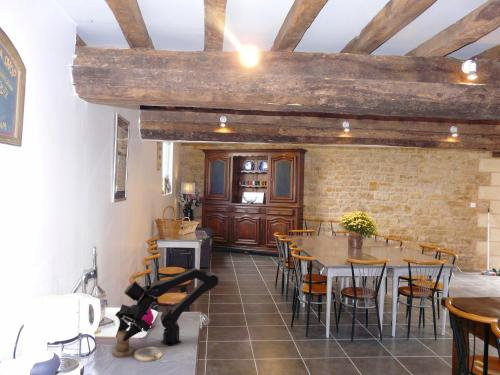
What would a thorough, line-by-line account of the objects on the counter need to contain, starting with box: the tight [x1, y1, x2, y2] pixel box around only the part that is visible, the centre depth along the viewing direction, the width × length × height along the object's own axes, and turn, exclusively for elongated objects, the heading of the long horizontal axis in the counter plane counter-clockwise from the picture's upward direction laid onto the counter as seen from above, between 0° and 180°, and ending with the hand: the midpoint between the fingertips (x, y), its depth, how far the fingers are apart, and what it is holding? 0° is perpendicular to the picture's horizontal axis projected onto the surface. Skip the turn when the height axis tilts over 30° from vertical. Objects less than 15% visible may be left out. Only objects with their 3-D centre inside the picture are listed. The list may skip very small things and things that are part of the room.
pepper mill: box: [142, 295, 154, 329], centre depth 205 cm, size 7×7×20 cm
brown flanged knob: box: [112, 329, 134, 358], centre depth 174 cm, size 8×8×9 cm
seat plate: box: [133, 346, 164, 362], centre depth 173 cm, size 12×12×3 cm
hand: (120, 338), depth 173 cm, fingers closed on brown flanged knob, 5 cm apart
